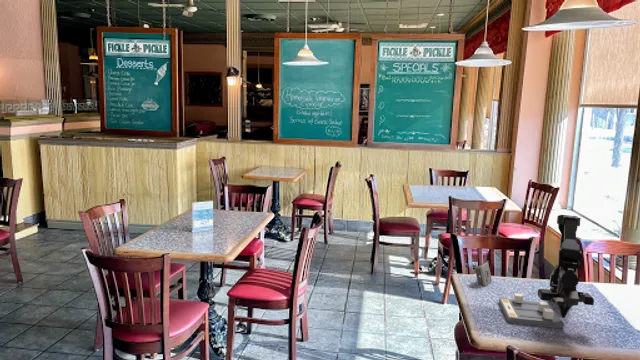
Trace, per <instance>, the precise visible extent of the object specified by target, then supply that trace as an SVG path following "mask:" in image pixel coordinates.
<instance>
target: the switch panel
mask: <svg viewBox="0 0 640 360" xmlns="http://www.w3.org/2000/svg"><path fill="white" fill-rule="evenodd" d="M513 299H514V298H513ZM513 299H512V298H511V299H510V298H504V297H503V298H501V297H498V303H499V306H500V308H501V310H502V312H503V314H504V316H505V318H506V320H507V323H512V324H520V325H530V326H539V327H547V328H556V329H557V328H559V329H564V325H565V323H564V322H563V320H562V318H560V316H559V314H557V312H556V310H555V309H554V308H553V307H552V306H551V304H550V303H549V302H547V304H548V305H549V306H548V309H552V310H553V312H554V316H553V320H552V319H545V318H544V317H543V312H541V311H539V309H538V302H539V301H531V300H523V303H515V302H514V300H513Z"/></svg>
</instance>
